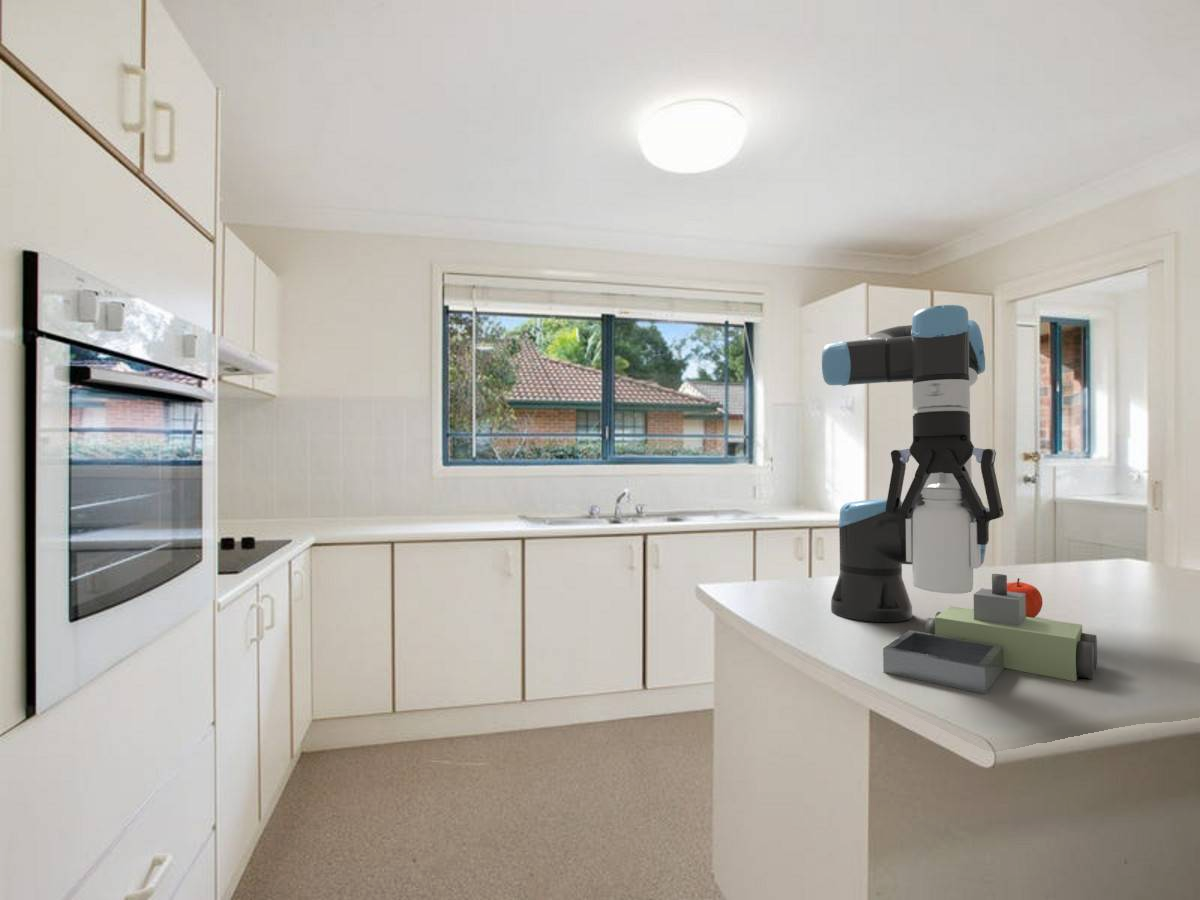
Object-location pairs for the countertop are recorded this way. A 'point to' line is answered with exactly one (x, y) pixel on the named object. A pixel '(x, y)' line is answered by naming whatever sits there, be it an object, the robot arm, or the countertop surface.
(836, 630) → the countertop surface
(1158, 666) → the countertop surface
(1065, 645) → the green roller box
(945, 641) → the grey square tray
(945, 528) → the pill bottle
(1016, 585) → the apple
